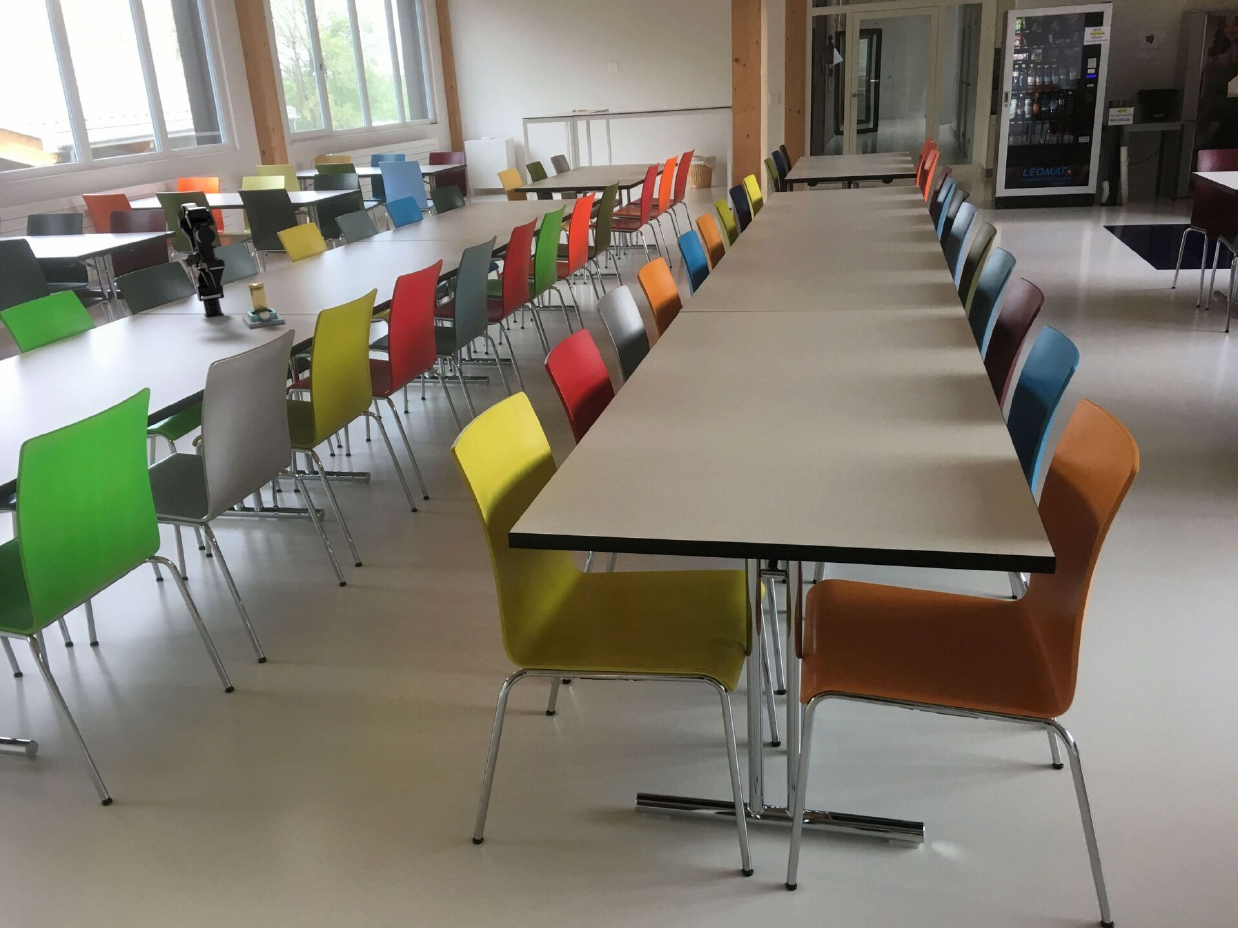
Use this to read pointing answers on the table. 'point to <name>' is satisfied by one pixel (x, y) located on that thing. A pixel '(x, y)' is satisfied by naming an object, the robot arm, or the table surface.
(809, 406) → the table surface
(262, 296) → the brass fitting
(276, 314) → the manifold board
